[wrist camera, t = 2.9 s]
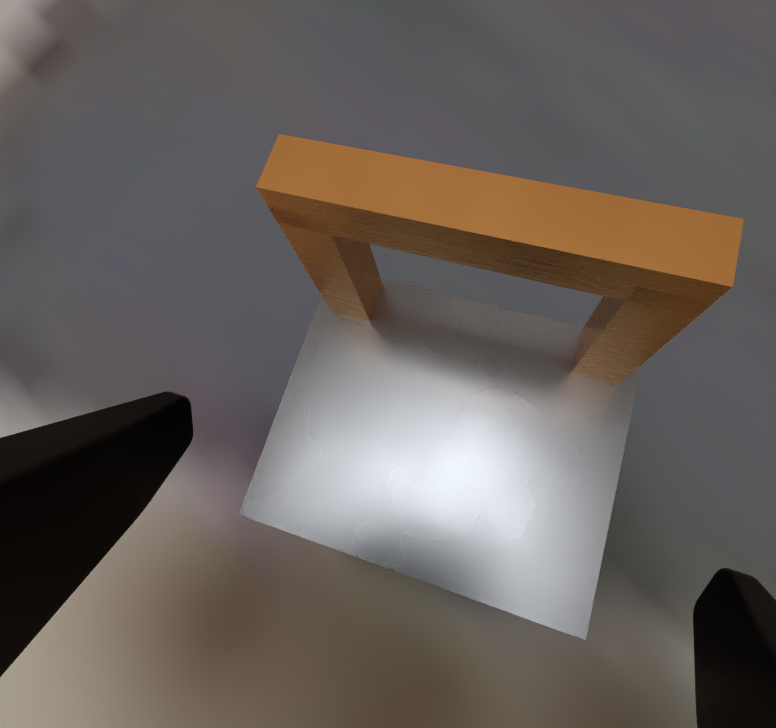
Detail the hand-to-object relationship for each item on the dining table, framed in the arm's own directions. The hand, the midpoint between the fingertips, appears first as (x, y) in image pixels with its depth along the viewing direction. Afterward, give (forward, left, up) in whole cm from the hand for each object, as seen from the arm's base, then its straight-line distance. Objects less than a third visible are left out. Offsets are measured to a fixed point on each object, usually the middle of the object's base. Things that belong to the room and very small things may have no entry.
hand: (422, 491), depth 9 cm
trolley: (+1, -1, -9) cm, 9 cm away
